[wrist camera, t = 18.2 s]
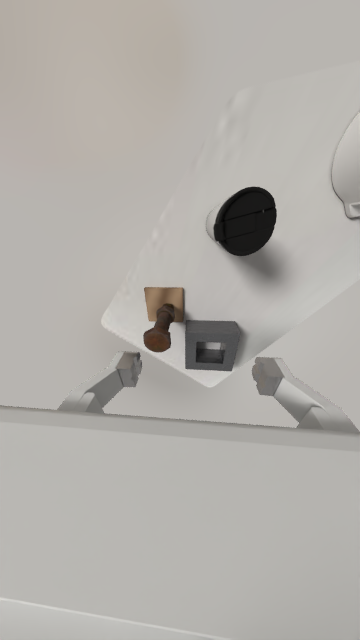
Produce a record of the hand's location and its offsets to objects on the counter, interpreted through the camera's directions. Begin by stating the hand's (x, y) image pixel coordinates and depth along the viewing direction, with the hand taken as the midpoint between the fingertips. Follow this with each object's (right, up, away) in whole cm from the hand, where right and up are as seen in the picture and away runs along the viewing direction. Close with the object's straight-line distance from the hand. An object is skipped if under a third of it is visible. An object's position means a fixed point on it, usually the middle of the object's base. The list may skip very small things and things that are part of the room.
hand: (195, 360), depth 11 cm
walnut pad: (-5, +7, +33) cm, 34 cm away
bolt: (-4, +7, +32) cm, 33 cm away
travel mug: (+7, +23, +22) cm, 33 cm away
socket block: (+8, -3, +38) cm, 39 cm away
